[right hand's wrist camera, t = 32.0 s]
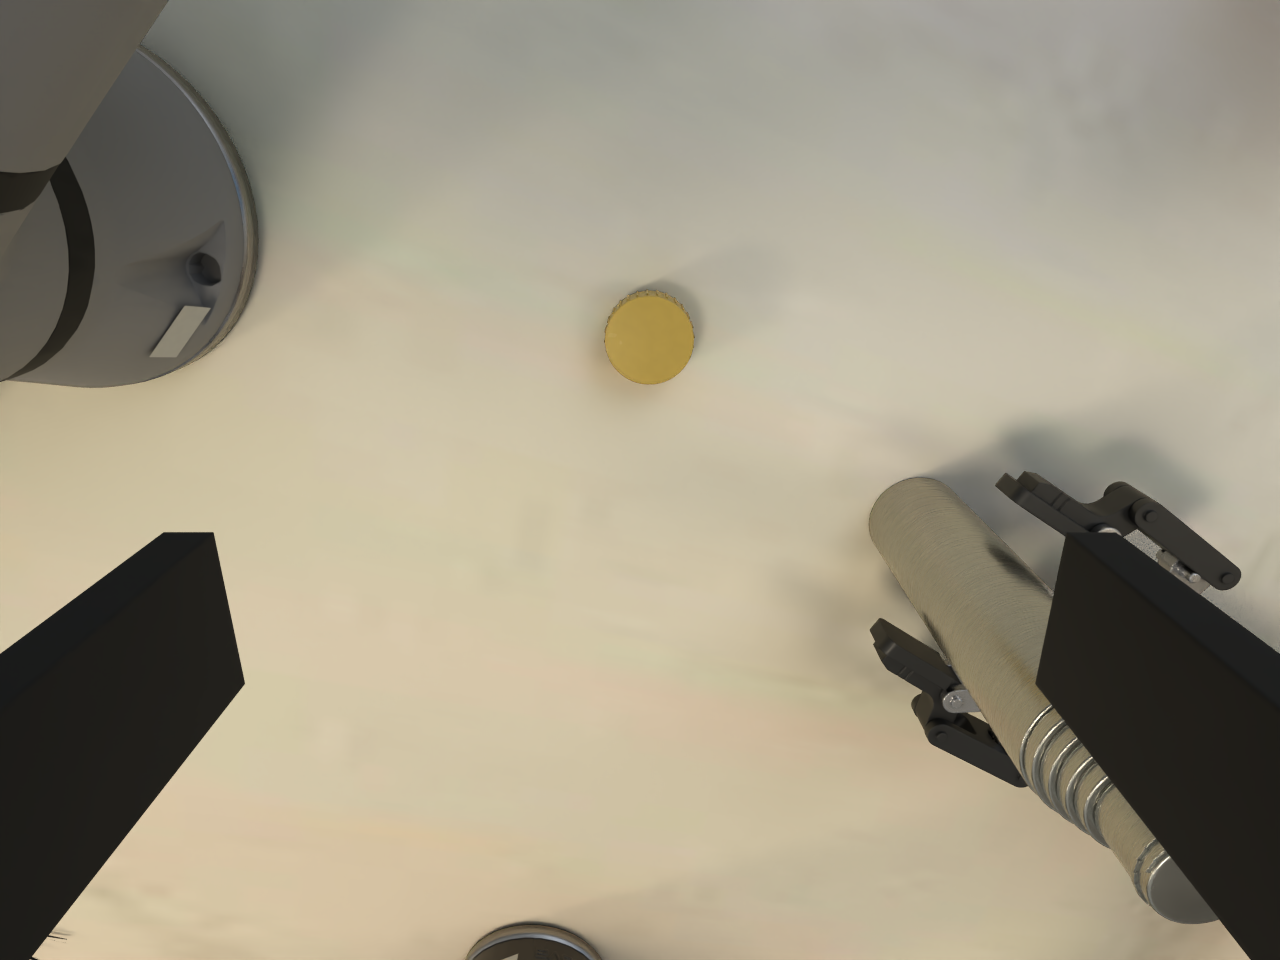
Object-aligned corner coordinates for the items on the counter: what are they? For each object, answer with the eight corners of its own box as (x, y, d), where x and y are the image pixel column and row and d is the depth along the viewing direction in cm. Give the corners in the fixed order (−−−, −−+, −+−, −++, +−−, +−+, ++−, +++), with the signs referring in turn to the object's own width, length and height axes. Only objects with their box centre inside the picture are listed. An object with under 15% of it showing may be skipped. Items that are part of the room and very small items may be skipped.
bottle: (976, 491, 40) (1345, 834, 19) (938, 571, 42) (1238, 970, 20) (890, 466, 40) (1169, 788, 18) (854, 548, 41) (1073, 930, 20)
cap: (619, 278, 36) (618, 283, 35) (703, 303, 37) (706, 310, 35) (595, 362, 38) (593, 371, 36) (677, 385, 38) (679, 396, 36)
